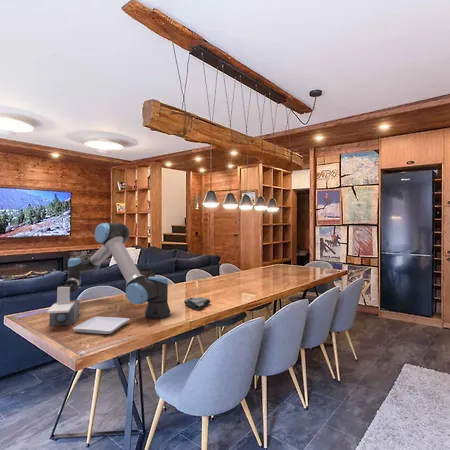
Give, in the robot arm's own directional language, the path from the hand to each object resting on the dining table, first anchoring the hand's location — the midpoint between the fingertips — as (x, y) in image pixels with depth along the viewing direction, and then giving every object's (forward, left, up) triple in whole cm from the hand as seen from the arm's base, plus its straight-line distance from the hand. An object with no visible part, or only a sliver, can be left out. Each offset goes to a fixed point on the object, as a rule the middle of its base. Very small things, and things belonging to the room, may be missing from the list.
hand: (63, 293), depth 179 cm
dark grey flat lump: (-17, -78, -16) cm, 81 cm away
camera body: (+3, -1, -16) cm, 16 cm away
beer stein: (+30, -67, -16) cm, 75 cm away
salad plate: (-23, -13, -17) cm, 31 cm away
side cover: (-7, +3, -6) cm, 10 cm away
